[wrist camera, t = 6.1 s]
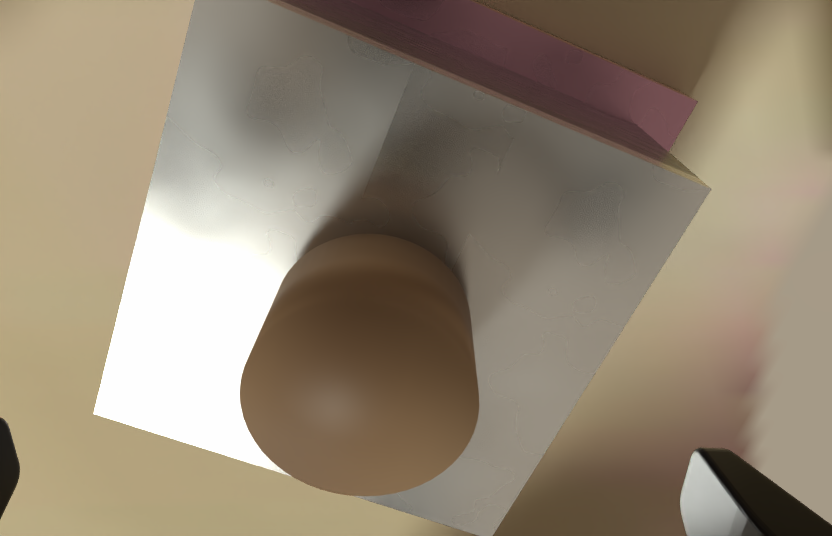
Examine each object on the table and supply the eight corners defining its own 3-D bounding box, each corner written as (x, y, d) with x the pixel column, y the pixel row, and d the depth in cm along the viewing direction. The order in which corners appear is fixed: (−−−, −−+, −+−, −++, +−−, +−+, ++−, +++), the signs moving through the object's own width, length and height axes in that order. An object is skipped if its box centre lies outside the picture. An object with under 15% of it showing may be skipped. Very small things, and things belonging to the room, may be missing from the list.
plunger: (581, 151, 16) (687, 295, 9) (460, 380, 19) (475, 614, 12) (295, 31, 15) (187, 98, 8) (213, 293, 18) (85, 498, 11)
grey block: (683, 93, 16) (795, 158, 11) (491, 426, 21) (511, 580, 16) (247, -101, 15) (150, -126, 10) (141, 305, 19) (37, 433, 14)
